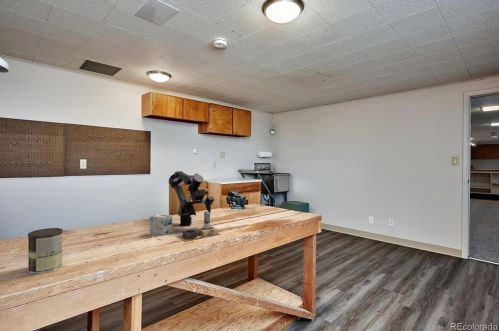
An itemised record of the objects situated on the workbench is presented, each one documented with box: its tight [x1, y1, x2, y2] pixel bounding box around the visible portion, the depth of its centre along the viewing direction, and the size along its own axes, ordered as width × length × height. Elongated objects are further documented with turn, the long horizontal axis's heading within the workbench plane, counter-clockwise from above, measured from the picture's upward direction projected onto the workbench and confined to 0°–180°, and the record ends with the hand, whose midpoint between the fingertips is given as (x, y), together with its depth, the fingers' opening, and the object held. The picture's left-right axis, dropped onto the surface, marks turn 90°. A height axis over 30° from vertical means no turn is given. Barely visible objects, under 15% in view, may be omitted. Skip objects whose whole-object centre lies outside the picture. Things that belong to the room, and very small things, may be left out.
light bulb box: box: [149, 213, 173, 236], centre depth 142 cm, size 11×7×11 cm, turn 65°
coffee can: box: [27, 227, 64, 275], centre depth 97 cm, size 10×10×14 cm
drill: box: [203, 211, 211, 230], centre depth 141 cm, size 3×3×12 cm
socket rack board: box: [174, 225, 223, 243], centre depth 138 cm, size 22×12×4 cm, turn 130°
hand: (202, 214), depth 145 cm, fingers open, 9 cm apart
